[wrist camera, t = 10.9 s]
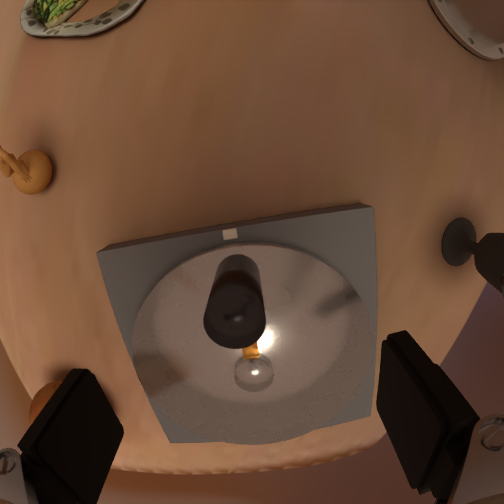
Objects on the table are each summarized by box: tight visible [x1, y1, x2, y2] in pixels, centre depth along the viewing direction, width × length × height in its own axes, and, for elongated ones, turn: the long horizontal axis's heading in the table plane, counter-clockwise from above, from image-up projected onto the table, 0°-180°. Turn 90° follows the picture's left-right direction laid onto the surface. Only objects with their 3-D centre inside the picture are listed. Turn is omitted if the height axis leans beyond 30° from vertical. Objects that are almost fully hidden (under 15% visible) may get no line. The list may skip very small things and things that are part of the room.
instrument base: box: [97, 203, 377, 443], centre depth 26 cm, size 22×22×3 cm
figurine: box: [0, 146, 52, 195], centre depth 17 cm, size 8×6×12 cm
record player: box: [132, 241, 374, 445], centre depth 20 cm, size 20×20×8 cm
